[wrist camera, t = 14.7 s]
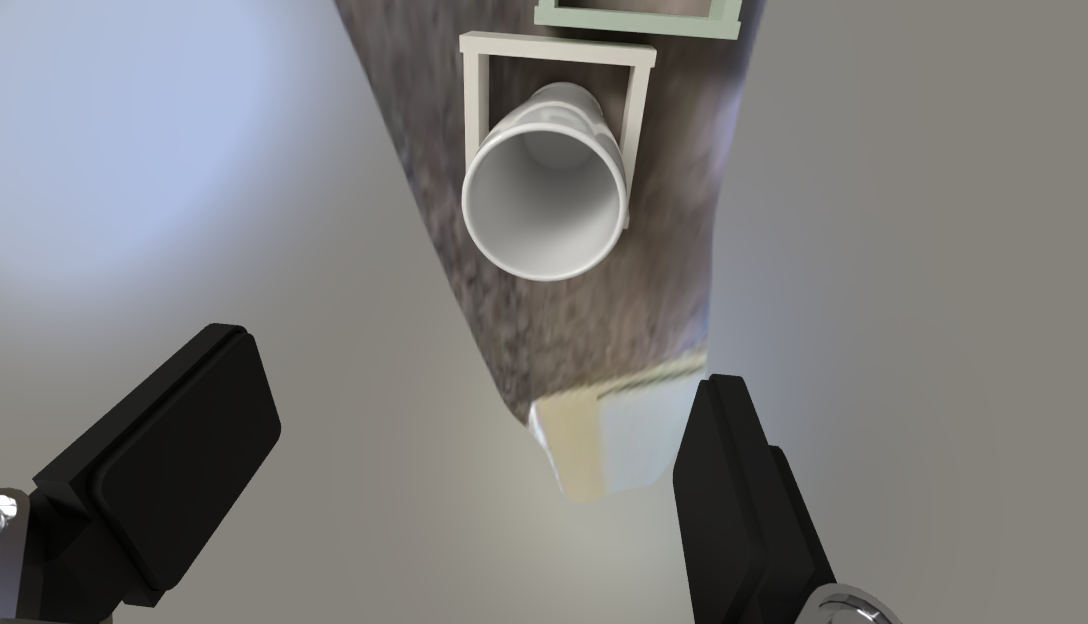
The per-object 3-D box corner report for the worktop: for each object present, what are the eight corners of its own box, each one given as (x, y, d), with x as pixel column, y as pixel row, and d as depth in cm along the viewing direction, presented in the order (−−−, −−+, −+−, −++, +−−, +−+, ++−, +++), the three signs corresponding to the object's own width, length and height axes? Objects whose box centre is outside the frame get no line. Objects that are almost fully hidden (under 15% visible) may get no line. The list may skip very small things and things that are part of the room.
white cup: (619, 169, 34) (634, 276, 21) (520, 182, 35) (479, 291, 22) (610, 58, 30) (622, 107, 18) (501, 76, 31) (439, 134, 19)
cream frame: (472, 31, 30) (459, 35, 27) (650, 44, 30) (656, 51, 27) (474, 195, 36) (463, 214, 33) (624, 209, 35) (627, 229, 32)
